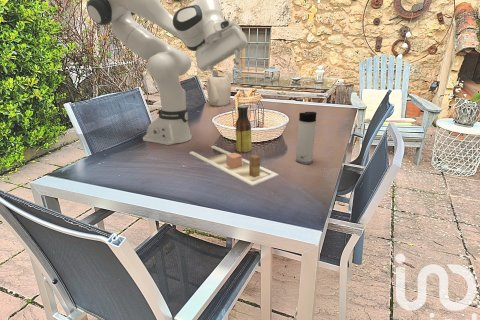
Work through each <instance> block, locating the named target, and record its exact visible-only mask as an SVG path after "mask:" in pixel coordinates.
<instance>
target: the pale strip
mask: <svg viewBox="0 0 480 320" xmlns="http://www.w3.org/2000/svg"><path fill="white" fill-rule="evenodd" d="M206 158H207V157H206ZM207 159H209V160H211V161H213V162H215V163H217V164H219V165H221V166H223V167H225V168H227V169H229V170H231V171H233V172H235V173H237V174H239V175H241V176H243V177H244V178H246V179H248V180H250V181H252V182H253V181H256V180H258V179H261V178H263V177H266V176H268V175H269V174H268V173H265V172H263V171H261V170H260V166H261V156H259V155H257V154H252V155H250V156H249V160H248V161H249V165H248V164H246V163H244V162H242V166H239V167H237V168H234V169H233V168H231V167H229V166H227V159H226V154H224V153H221V154H217V155H214V156H211V157H208V158H207Z"/></svg>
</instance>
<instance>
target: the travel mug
mask: <svg viewBox="0 0 480 320" xmlns="http://www.w3.org/2000/svg"><path fill="white" fill-rule="evenodd" d="M317 114H318V113H317V112H316V111H304V112H299V116H298V117H299V118H298V126H297V127H298V128H297V140H296V141H297V143H296V155H295V161H296V163H298V164H301V165H310V164H312V163H313V157H314V147H315V145H314V144H315V134H316V126H317V125H316V123H317Z"/></svg>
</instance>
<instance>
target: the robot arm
mask: <svg viewBox="0 0 480 320" xmlns="http://www.w3.org/2000/svg"><path fill="white" fill-rule="evenodd" d="M86 10H87V14H88V15H89V17H90V18H91V19H92V21H93V22H95V23H96V24H97V25H98V26H105V25H109V24H111V31H112V33H113V35H114V36H115V37H116V38H117V40H119V41H120V42H121V43H122V44H123V45H124V46H126V48H128V49H129V50H131V52H133V53H134V54H135V55H136V56H137V57H139V58H140V59H142V60H145V61H147V63H146V68H147V72H148V74H149V75H150V77H151V78H153V79H154V81H155V83H156V85H157V88H158V92H159V96H160V97H159V98H160V104H161V108H160V109H159V110H158V111H157V112H156V115H158V117H157V118H156V119H154V120H153V121H152V122H151V123H149V125H148V127H147V132H146V134H145V135H143V136H142V141H144V142H150V143H154V144H155V143H156V144H160V145H166V146H170V145H174V144H180V143H187V142H188V141H190V140H191V139H193V138H192V137H193V136H192V133H191V131H190V126H189V112H188V111H189V110H188V107H187V98H186V90H185V89H184V88H183V87H182V85H181V82H180V78H179V77H180V76H184V75H185V74H187V72H189V70H190V69H191V68H192V58H191V57H190V55H189V54H188V53H187V52H185V51H183V50H180V49H178V48H176V47H175V46H173V45H171V44H169V43H167V42H166V41H164V40H162V39H160V38H159V37H157V36H156V35H154V34H153V33H151V31H149V30H148V29H146V28H145V27H144V26H143V25H141V24H140V23H138V22H137V20H135V19H134V17H133V16H134V15H137V16H138V17H141V18H142V19H145V20H147V21H149V22H150V23H152V24H154V25H156V26H158V27H160V28H161V29H162V30H164V31H165V32H167V33H169V34H171V35H172V36H174V37H176V38H177V39H179V40H181V42H182V43H183V45H184V46H185V47H186V48H187V49H188V50H189V51H192V52H194V54H195V55H194V56H195V58H196V59H195V60H196V65H197V68H198V69H199V70H200V71H202V72H206V71H209V72H210V73H211V76H213V77H217V76H218V75H219V74H218V71H217V70H214V69H215V68H214V67H215V66H216V65H219V64H220V63H222V62H224V61H225V60H227V59H229V58H231V57H232V56H233V55H234V58H233V59H232V60H233V64H234V65H236V66H237V65H240V63H241V61H240V57H241V51H242V50H243V49H245V48H247V47H248V39H247V36H246V34H245V32H244V31H243V30H242V28H241V26H240V24H239V23H237V22H236V21H234V20H233V19H231V18H229V19H226V20H224V13H223V10H222V8H221V5H220V3H219V0H193V1H192V2H191V3H190V4H188V5H187V6H183V7H182V8H179V9H177V11H176V12H175V13H174V15H173V14H171V12H169V11H168V10H167V8H166V7H165V6H164V5H163V4H162V2H161V1H160V0H88V1H87V3H86Z"/></svg>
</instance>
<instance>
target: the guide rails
mask: <svg viewBox="0 0 480 320" xmlns="http://www.w3.org/2000/svg"><path fill="white" fill-rule="evenodd" d="M210 149H214V150H215V151H217V152H220V153H221V154H225V155H228V154H232V153H233V152H230V151H227V150H226V149H223V148H221V147H219V146H216V145H211V146H210ZM188 153H189V155H192V156H193V157H195V158H197V159H199V160H201V161H203V162H205V163H207V164H209V165H211V166H212V167H215V168H217V169H218V170H220V171H222V172H224V173H226V174H227V175H230V176H232V177H234V178H236V179H238V180H240V181H242V182H244V183H245V184H247V185H249V186H251V187H254V186H256V185H259V184H262V183H263V182H266V181H269V180H271V179H274V178H276V177H277V178H278V177H279V175H280V174H279V173H276V172H274V171H273V170H270V169H268V168H266V167H263V166H261V165H260V171H262V172H264V173H266V174H268V175H267V176H265V177H262V178H260V179H257V180H255V181H250V180H248V179H246V178H244V177H243V176H241V175H239V174H237V173H235V172H233V171H231V170H229V169H227V168H225V167H223V166H221V165H219V164H217V163H215V162H213V161H211V160H209V159H207V157H205V156H202V155H201V154H199V153H197V152H195V151H189V152H188ZM249 161H250V160H248V159H246V158H243V157H242V163H244V164H246V165H249Z"/></svg>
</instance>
